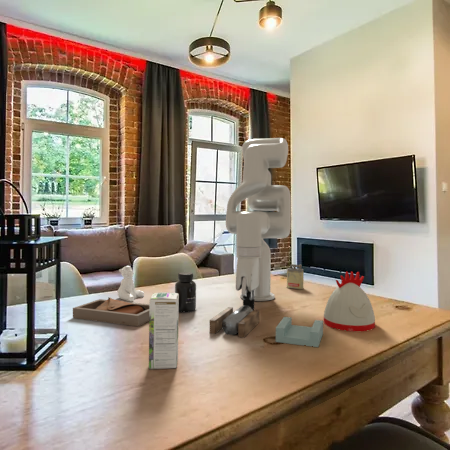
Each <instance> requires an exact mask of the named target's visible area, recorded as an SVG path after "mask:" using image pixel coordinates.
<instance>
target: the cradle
mask: <svg viewBox="0 0 450 450" xmlns="http://www.w3.org/2000/svg"><path fill="white" fill-rule="evenodd" d="M292 320H293V319H292V316H291V317H290V316H289V317H288V316H284V317H282V319H281V320H280V322H279V323H278V324H277V326H276V327H275V343H282V344H290V345H298V346H304V345H306V347H312V346H313V347H312V348H319V346H320V343H321V340H322V338H323V335H324V320H320V319H315V320H314V322H313V324H312V326H305V325H296V324H295V325H294V324H292V323H293V322H292Z"/></svg>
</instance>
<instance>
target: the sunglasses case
mask: <svg viewBox="0 0 450 450" xmlns="http://www.w3.org/2000/svg"><path fill="white" fill-rule="evenodd" d="M105 300H106V301H105V302H104V303H102V304H101V305H100V306H98V307H97V308H96V310H105V311H113V312H121V313H130V314H139V313H141V312H143V311H145V310H146V309H145V308H144V307H143V306H141V305H138V304H131V303H128V302H129V301H125V300H119V299H114V298H111V297H108V299H105ZM123 323H125V322H123Z"/></svg>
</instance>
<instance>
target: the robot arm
mask: <svg viewBox="0 0 450 450" xmlns="http://www.w3.org/2000/svg"><path fill="white" fill-rule="evenodd" d="M241 149H242V150H241V152H242V158H243V173H242V182H241V183H240V185H239V186H237V187H236V188H235V190H234V191H233V192H232V193H231V195H230V197H229V199H228V201H227V205H226V214H225V228H226V230H227V232H228V233H230V234H233V235H236V258H237V262H236V271H235V273H236V274H235V290H236V291H241V293H240V298H241V299H242V306H243V305H248V306H250V307H251V308H252V310H255V302H268V301H272V300H274V299H275V297H276V296H275V295H276V294H274V293H273V292H271V277H272V275H271V274H272V273H271V267H272V266H271V265H272V263H271V258H272V257H271V256H272V254H271V248H270V246H269V244H268V243H267V242H266V241H265V240H264V239H285V238H288V237H289V236H290V234H291V233H290V232H291V229H292V227H291V226H292V224H291V222H292V221H291V220H292V219H291V218H292V217H291V215H292V214H291V212H292V208H291V207H292V205H291V204H292V202H291V201H292V199H291V196H292V195H291V191H290V188H288V186H287V185H282V184H281V185H279V184H272V174H271V171H270V170H269V169H279V168H283V167H285V166H286V163H287V160H288V154H289V145H288V142H287V140H286V138H283V137H272V138H271V137H270V138H253V139H248V140H245V142H244V143H243V144H242V147H241ZM245 200H247V204H248V207H249V209H251V210H238V211H237V208H238V206H239V204H241V203H242V202H243V201H245ZM252 210H253V211H252ZM274 211H275V212H274Z"/></svg>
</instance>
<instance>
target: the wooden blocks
mask: <svg viewBox="0 0 450 450" xmlns="http://www.w3.org/2000/svg"><path fill="white" fill-rule="evenodd" d="M233 312H234V307H231V306H228V307H227V308H225V309H223V310H222V311H221V312H219V313H218V314H216V315H214V316H213V317H212V318H210V319H209V334H212V335H215V334H217V333H218V332H219V331H220V330H221V329H222V330H223V328H222V322H223V320H224V319H225V318H226V317H228V316H229V315H230V314H232V313H233ZM259 323H260V310H259V309H254V310H253V311H252V312H251V313H250V314H249V315H247V316H246V317H245V318H244V319H243V320H242V321H241V322H239V323H238V333H237V334H238V337H237V338H245V337H247V335H248V334H249V333H250V332H251V331H252V330H253V329H254V328H255V327H256V326H257V325H258V324H259Z"/></svg>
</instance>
